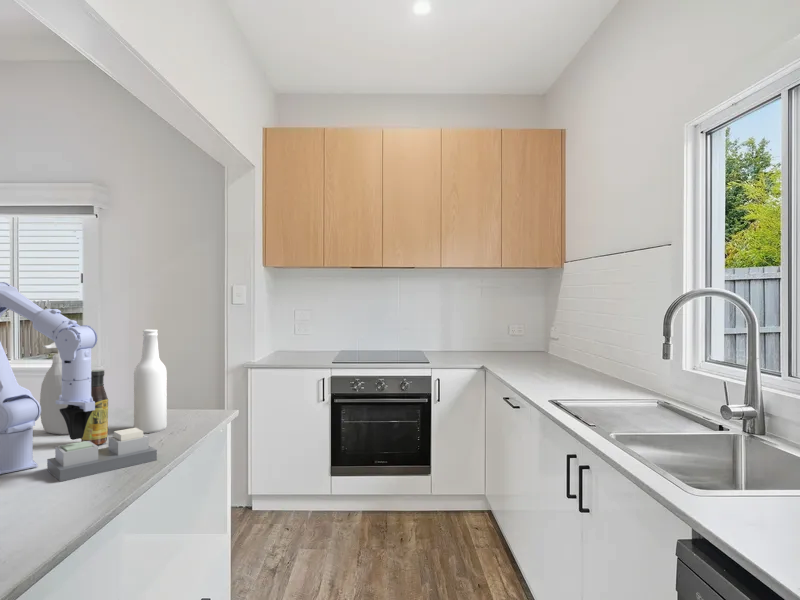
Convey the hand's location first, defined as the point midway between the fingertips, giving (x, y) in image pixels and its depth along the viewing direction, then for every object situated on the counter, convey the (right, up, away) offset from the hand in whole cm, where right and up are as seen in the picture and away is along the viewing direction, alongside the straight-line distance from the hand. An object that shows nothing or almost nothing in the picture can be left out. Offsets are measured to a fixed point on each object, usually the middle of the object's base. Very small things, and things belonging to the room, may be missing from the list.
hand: (76, 438), depth 116 cm
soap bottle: (-26, -8, +32) cm, 42 cm away
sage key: (0, -3, 0) cm, 3 cm away
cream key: (+8, -2, +8) cm, 11 cm away
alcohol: (-1, -8, +36) cm, 36 cm away
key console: (+4, -7, +4) cm, 9 cm away
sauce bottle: (-9, -8, +21) cm, 24 cm away
